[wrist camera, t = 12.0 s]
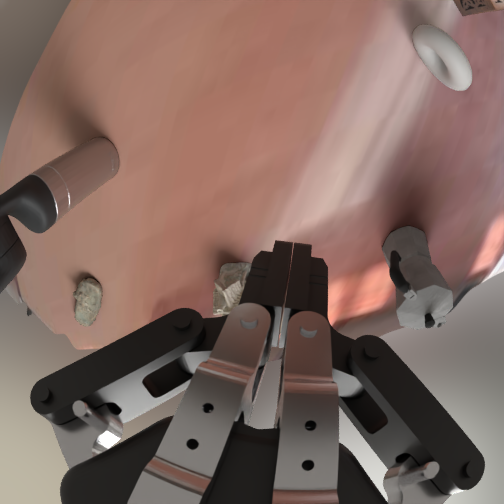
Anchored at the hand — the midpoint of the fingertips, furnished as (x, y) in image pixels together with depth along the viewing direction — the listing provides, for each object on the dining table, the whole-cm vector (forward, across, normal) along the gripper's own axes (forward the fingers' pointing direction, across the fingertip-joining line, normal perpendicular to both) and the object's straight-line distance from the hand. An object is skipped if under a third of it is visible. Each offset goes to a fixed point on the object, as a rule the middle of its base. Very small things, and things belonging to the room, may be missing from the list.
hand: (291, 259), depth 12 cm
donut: (+31, -17, -14) cm, 38 cm away
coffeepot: (+31, -19, +18) cm, 41 cm away
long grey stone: (+32, +64, +55) cm, 90 cm away
